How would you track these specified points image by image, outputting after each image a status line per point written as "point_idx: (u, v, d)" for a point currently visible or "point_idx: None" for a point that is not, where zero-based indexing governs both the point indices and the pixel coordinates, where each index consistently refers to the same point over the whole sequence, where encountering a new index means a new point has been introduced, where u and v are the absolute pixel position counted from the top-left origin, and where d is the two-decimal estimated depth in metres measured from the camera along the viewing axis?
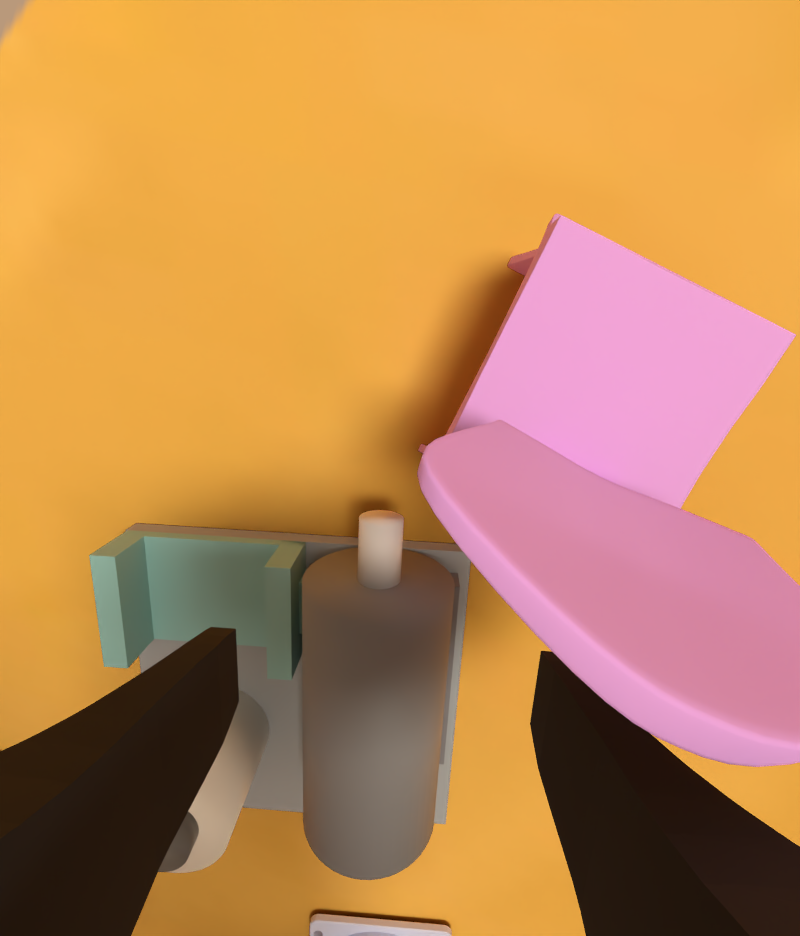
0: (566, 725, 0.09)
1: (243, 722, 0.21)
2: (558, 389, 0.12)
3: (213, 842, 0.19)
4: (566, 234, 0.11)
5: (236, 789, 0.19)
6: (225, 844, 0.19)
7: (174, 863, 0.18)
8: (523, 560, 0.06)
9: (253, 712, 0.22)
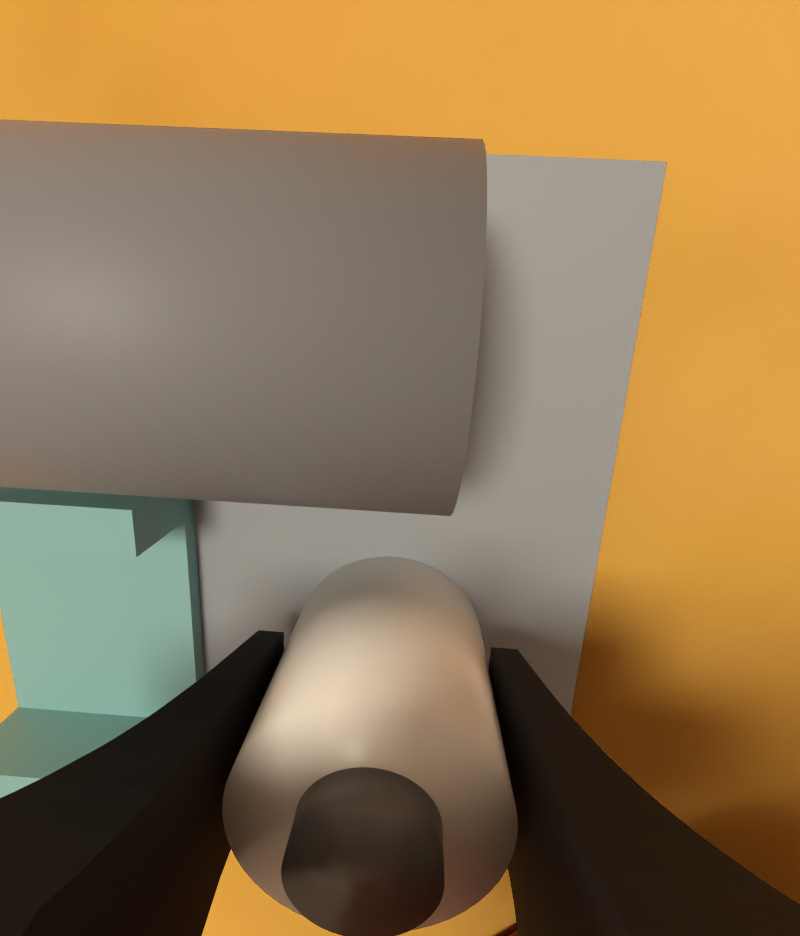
0: (507, 721, 0.09)
1: (314, 607, 0.11)
2: None
3: (412, 742, 0.07)
4: None
5: (337, 657, 0.08)
6: (416, 717, 0.07)
7: (414, 852, 0.07)
8: None
9: (329, 583, 0.12)
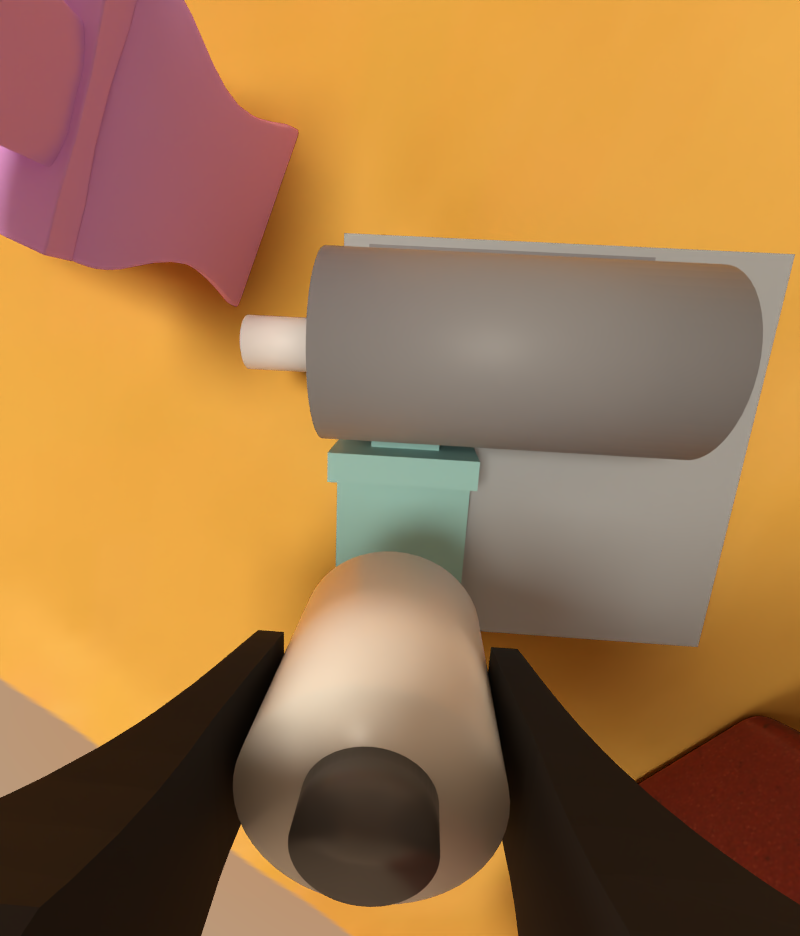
0: (507, 721, 0.09)
1: (318, 599, 0.11)
2: None
3: (410, 723, 0.08)
4: None
5: (341, 645, 0.09)
6: (414, 699, 0.08)
7: (412, 825, 0.07)
8: None
9: (333, 576, 0.12)
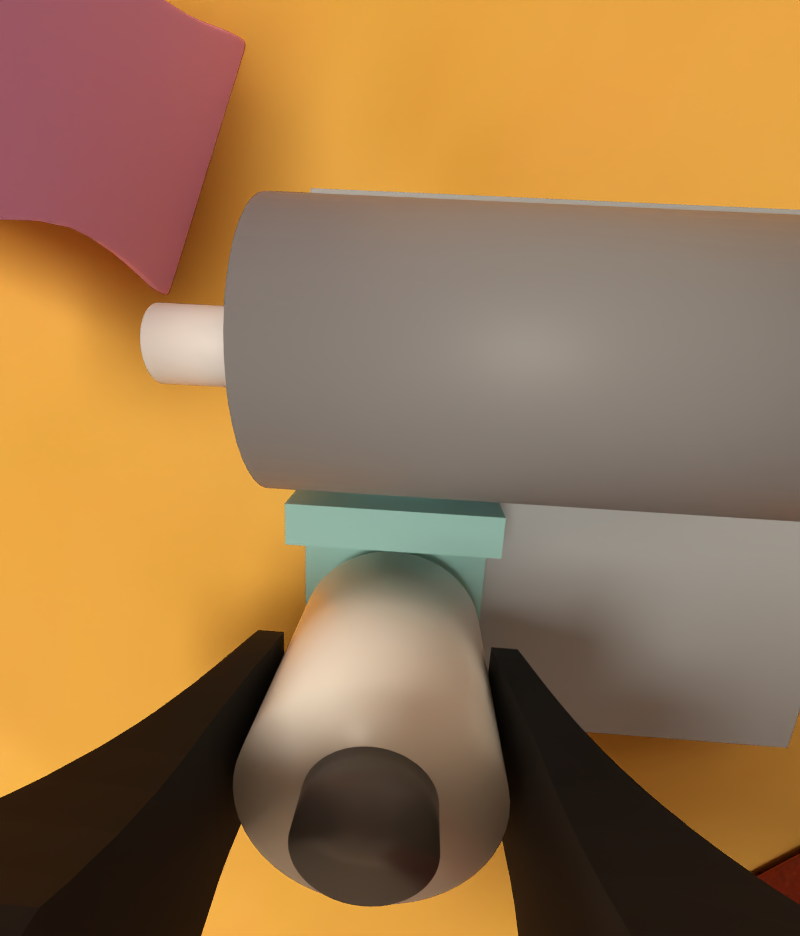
0: (507, 721, 0.09)
1: (318, 599, 0.11)
2: None
3: (410, 723, 0.08)
4: None
5: (341, 645, 0.09)
6: (414, 699, 0.08)
7: (412, 825, 0.07)
8: None
9: (333, 576, 0.12)
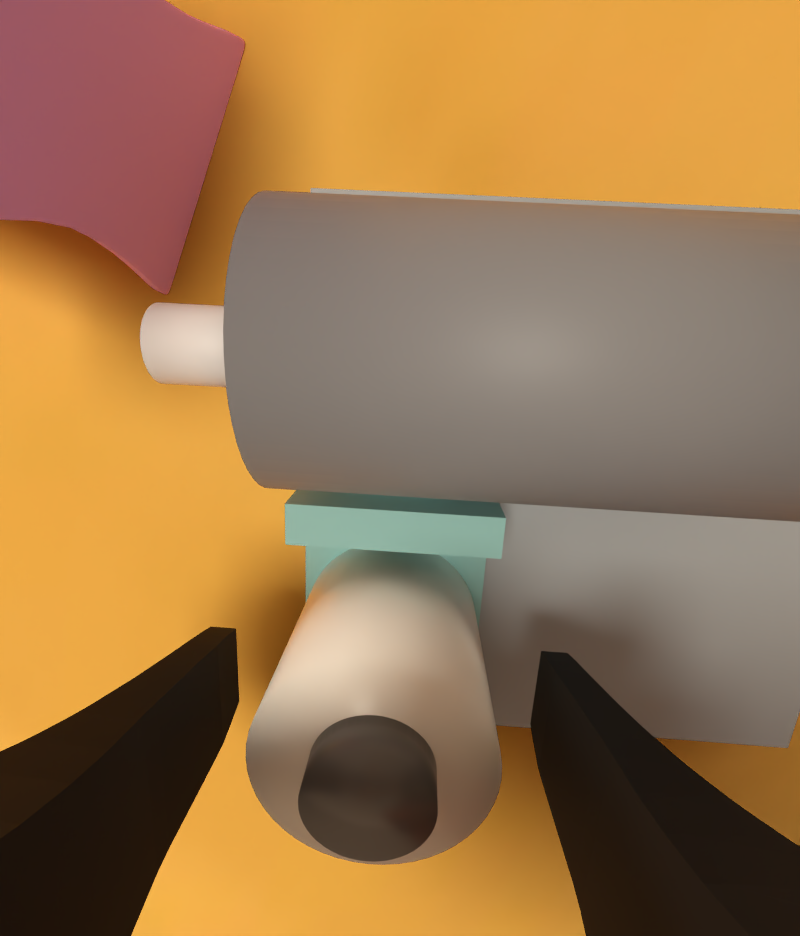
0: (567, 726, 0.09)
1: (323, 584, 0.12)
2: None
3: (410, 692, 0.08)
4: None
5: (345, 623, 0.09)
6: (414, 670, 0.08)
7: (411, 784, 0.08)
8: None
9: (336, 564, 0.13)
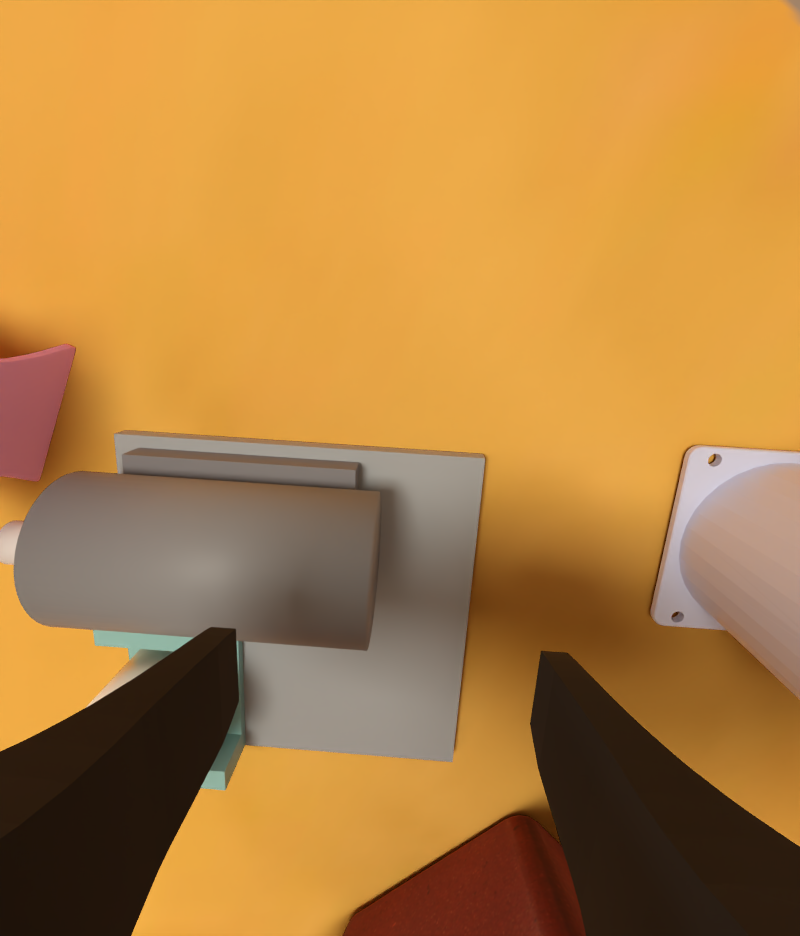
0: (566, 726, 0.09)
1: (125, 665, 0.20)
2: None
3: None
4: None
5: None
6: None
7: None
8: None
9: (140, 650, 0.21)
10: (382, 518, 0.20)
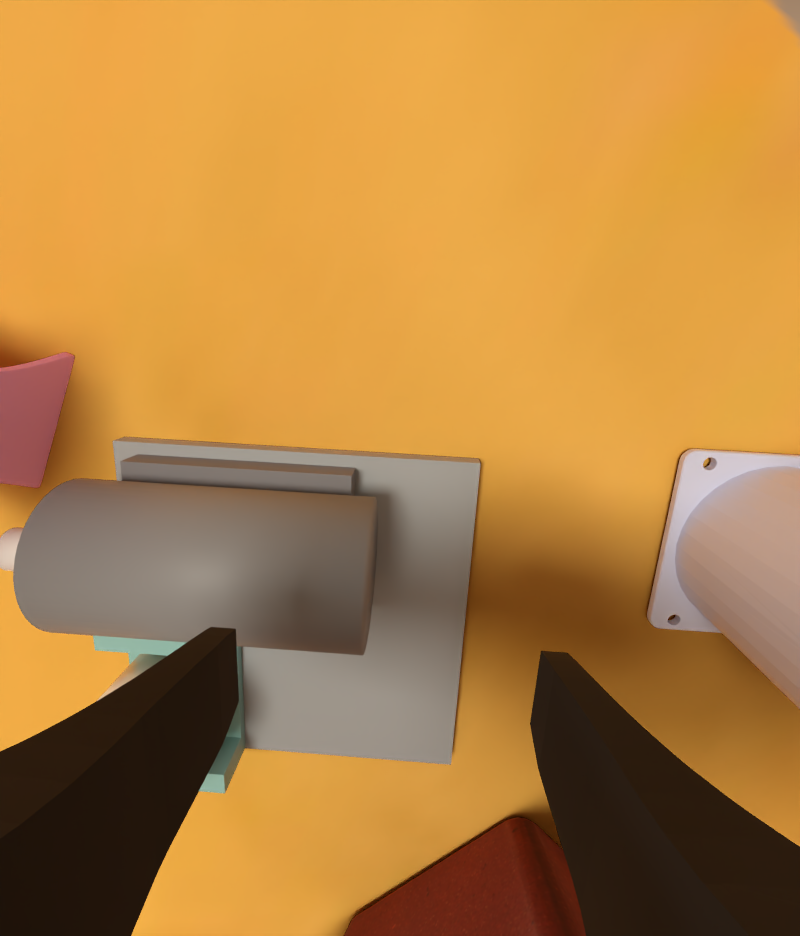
0: (566, 725, 0.09)
1: None
2: None
3: None
4: None
5: None
6: None
7: None
8: None
9: (139, 655, 0.21)
10: (379, 523, 0.20)
